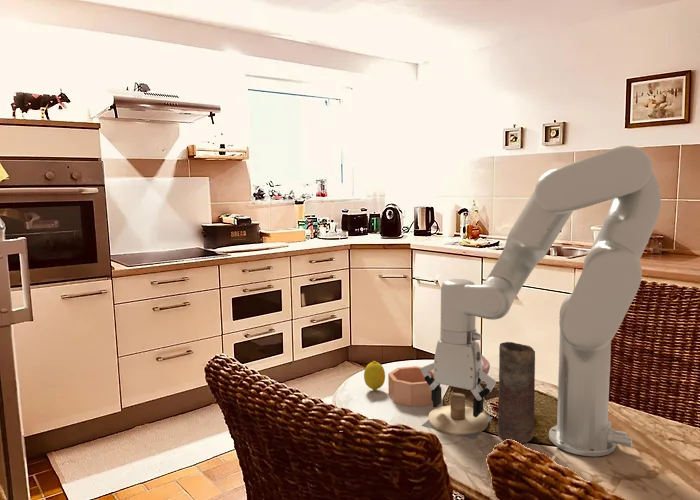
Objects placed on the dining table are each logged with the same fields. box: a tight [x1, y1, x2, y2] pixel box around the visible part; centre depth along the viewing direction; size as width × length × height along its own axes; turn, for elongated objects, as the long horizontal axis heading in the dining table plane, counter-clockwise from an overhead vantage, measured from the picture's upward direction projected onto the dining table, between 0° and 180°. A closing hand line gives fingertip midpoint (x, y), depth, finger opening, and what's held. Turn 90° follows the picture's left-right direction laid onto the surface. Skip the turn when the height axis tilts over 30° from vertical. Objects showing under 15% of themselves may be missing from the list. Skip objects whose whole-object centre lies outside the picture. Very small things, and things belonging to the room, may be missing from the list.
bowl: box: [387, 365, 441, 408], centre depth 134 cm, size 12×12×6 cm
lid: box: [428, 392, 489, 436], centre depth 119 cm, size 13×13×6 cm
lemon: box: [363, 360, 386, 392], centre depth 139 cm, size 6×6×8 cm
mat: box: [421, 415, 494, 440], centre depth 119 cm, size 12×12×1 cm
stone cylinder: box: [497, 341, 536, 444], centre depth 111 cm, size 8×7×20 cm
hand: (456, 409), depth 119 cm, fingers open, 9 cm apart
